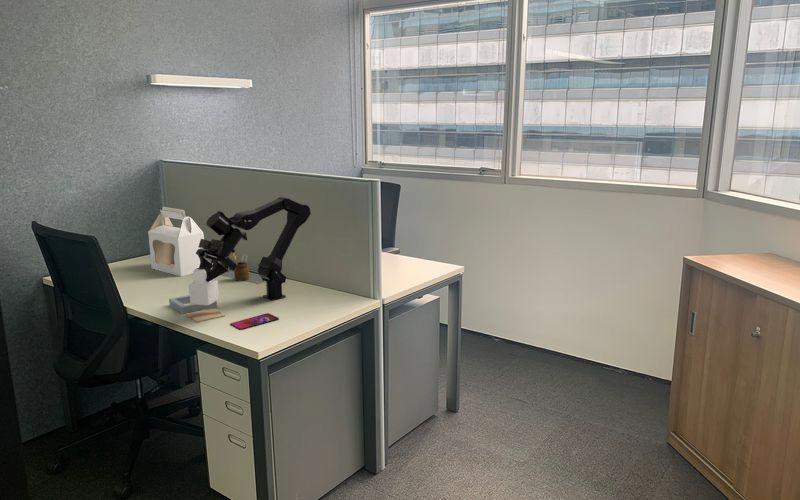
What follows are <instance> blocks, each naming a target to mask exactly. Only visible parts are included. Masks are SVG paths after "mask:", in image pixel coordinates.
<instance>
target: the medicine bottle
mask: <svg viewBox="0 0 800 500" xmlns="http://www.w3.org/2000/svg"><path fill="white" fill-rule="evenodd" d="M211 269H212V268H211ZM211 269H210V268H207V267H201V268H197V269H195V270H194V271H193V274H192V275H193V282H191V283H188V293H189V294H188V295H190V304H197V305H210V304H212V303H213V302H215V301H218V300H219V299H220V296H219V295H220V294H219V281H218V280H216V279H213V280H211V281H209V282H207V281H206V278H207V276H208V275H209V273H210V271H211Z"/></svg>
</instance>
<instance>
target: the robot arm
mask: <svg viewBox="0 0 800 500" xmlns="http://www.w3.org/2000/svg"><path fill="white" fill-rule="evenodd" d="M283 210H284V211H286V212H287V213H286V223H285V225H284V227H283V229H282V231H281V233H280V235H279V236H278V239H277V241H276V243H275V245H274V247H273V249H272V250H271V252H270V254H269V255H268V256H267V257H266V256H262V258H261V259H260V262H259V263H258V265H257V267H258V268H257V274H258V275H259V277H260V279H261V280H262V281H263V282H265V283H266V285H265V287H266V290H265V291H266V294H264V295H263V298H266V299H268V300H270V301H274V300H279V299H282V298H286V297H287V296H286V294H283V286H282V285H283V284H284V283H286V281H287V276H286V275H284V274H283V273H282V270H283V259H284V258H285V255H286V253H287V251H288V249H289V247H290V245H291V244H292V241H293V239H294V237H295V235H296V234H297V232H298V229H299V228H301V227H302V226H303V225H304V224H305V223H306V222H307V220H308V219H309V218H310V215H311V213H312V212H311V208H310V206H309V205H308V204H303V203H299V202H297V201H295V200H292V199H291V198H289V197H285V196H280V197H277V198H276V199H274V200H272V201H269V202H267V203H265V204H263V205H261V206H258V207H256V208H254V209H251V210H249V209H248V210H244V211H239V212H236V213H235V214H234V215H233V216H231V217H228V216H226V215H225V214H224V213H225V212H222V211H221V210H217V212H216V213H214V214H212V215H211V216H209V217H208V219H207V220H206V224H205V225H206V226H207V227H208V228H209V229H210V230H212V231H213V232H214V233H215V234H217V235H218V236H222V237H221V238H220V239H213V238H212V239H210V240H207V239H205V238H204V239H201V240H200V243H199V246H198V247H199V248H201V249H198V250H197V252H196V254H197V255H198V257H199V258H200V266H199V268H201V267H207V268H210V269H211V271H210V273H209V275H208V276H207V278H206V281H207V282H209V281H211V280H215V279H216V278H218V277H219V276H222V275H223V274H225V273H228V272H230V271H231V272H234V271H235V269H236V268H237V263H238V262H237V263H236V261H235V260H233V259H232V258H230V255H231V254H233V253H236V250H235V249H236V247H237V245H238V244H239V243H240V241H241V240H243V241H248V237H247V236H248V235H247V232H246V231H251V230H252V229H253V228H255V227H256V226H258V224H259V223H260V222H261V221H262V220H264V219H266V218H269V217H271V216H273V215H274V214H276V213H279V212H280V211H283ZM241 230H244V231H241ZM202 248H203V249H202Z"/></svg>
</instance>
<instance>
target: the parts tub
mask: <svg viewBox="0 0 800 500" xmlns="http://www.w3.org/2000/svg"><path fill="white" fill-rule="evenodd" d="M217 301H218V300H217ZM217 301H215V302H213V303H212V304H210V305H197V304H189V303H190V294H186V295H182V296H177V297H176V296H175V297H172V298H171V297H170V298H168V303H169V306H170V307H171V308H173V309H175V310H177V311H178V312H179V313H181V314H182V315H186V314H188V313H193V312H197V311H202V310H206V309H211V308H216V307H217V306H218V305H217V303H218V302H217ZM217 308H218V307H217Z"/></svg>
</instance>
